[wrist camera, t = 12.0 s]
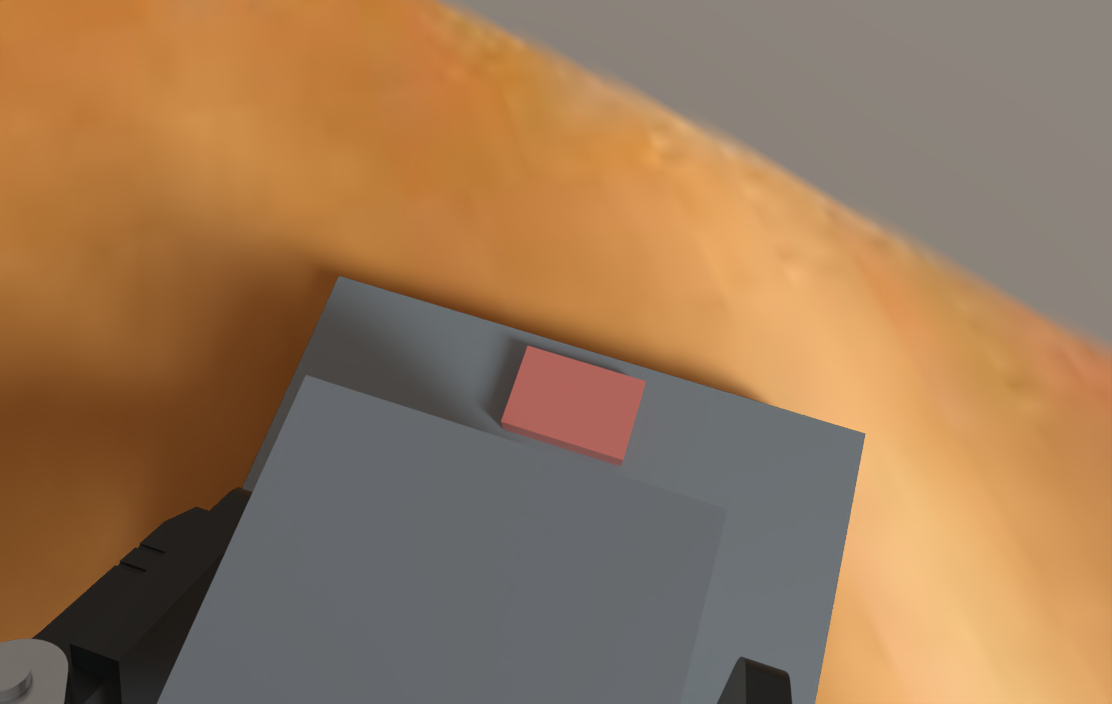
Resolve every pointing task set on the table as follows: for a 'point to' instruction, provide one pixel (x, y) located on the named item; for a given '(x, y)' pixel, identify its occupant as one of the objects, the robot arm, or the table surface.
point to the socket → (627, 457)
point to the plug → (445, 572)
